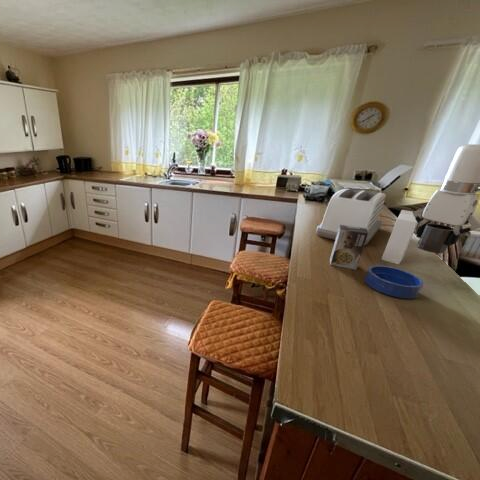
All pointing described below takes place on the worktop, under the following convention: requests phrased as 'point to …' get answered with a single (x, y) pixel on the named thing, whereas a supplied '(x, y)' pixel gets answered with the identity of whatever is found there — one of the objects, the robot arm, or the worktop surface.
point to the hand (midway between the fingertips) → (434, 240)
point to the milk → (400, 237)
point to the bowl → (393, 282)
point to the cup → (435, 238)
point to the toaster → (352, 212)
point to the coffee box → (348, 246)
